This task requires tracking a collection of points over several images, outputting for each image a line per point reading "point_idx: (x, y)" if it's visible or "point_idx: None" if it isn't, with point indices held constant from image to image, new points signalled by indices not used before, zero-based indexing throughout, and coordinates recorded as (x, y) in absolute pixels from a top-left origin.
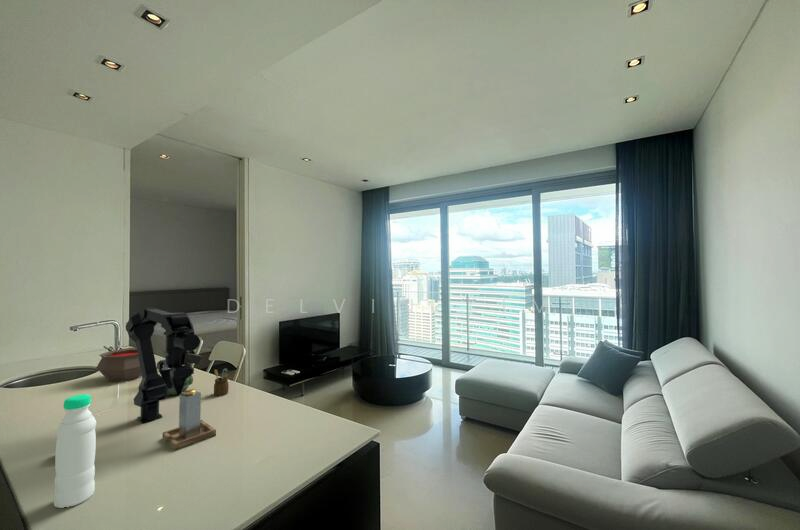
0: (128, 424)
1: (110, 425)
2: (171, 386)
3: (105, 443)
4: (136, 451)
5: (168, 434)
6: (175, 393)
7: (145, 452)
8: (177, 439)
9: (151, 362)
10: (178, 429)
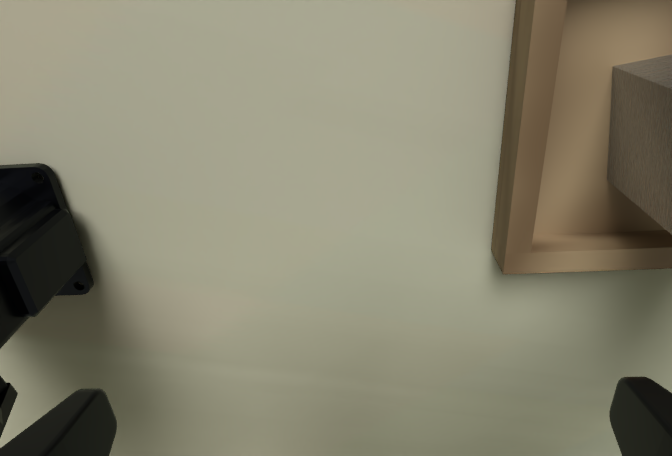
0: (56, 337)
1: None
2: (85, 418)
3: (284, 439)
4: (536, 371)
5: (582, 255)
6: None
7: (598, 346)
8: None
9: None
10: (537, 173)
